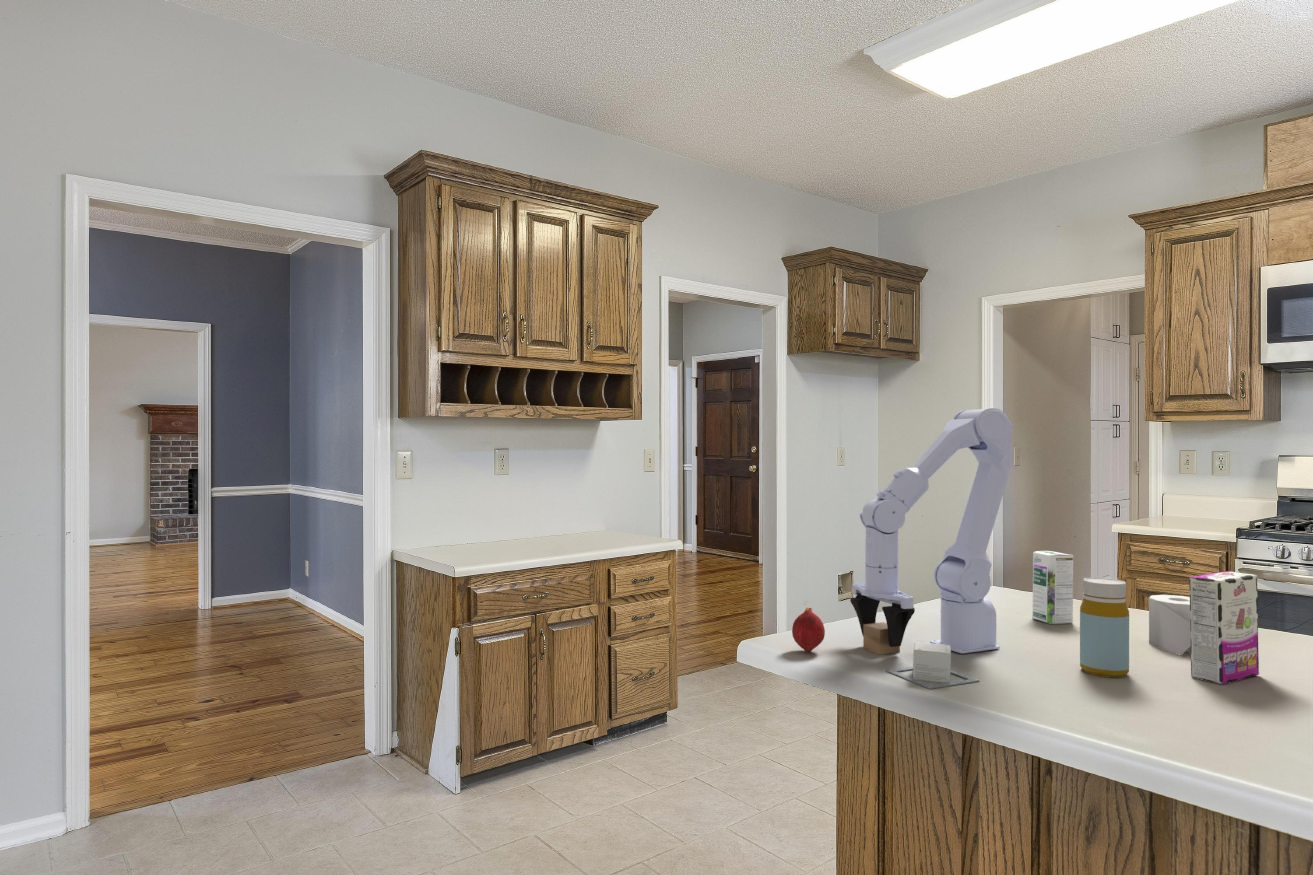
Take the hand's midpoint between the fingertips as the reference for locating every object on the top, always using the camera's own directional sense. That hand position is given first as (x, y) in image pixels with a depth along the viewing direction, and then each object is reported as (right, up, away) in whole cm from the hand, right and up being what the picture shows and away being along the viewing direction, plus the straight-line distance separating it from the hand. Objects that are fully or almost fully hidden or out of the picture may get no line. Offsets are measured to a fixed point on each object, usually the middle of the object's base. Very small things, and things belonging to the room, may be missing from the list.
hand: (881, 640), depth 142 cm
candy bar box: (+51, -2, -15) cm, 53 cm away
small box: (+4, -2, -16) cm, 16 cm away
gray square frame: (+4, -2, -16) cm, 16 cm away
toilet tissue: (+56, -2, +3) cm, 56 cm away
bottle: (+33, -2, -13) cm, 35 cm away
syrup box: (+43, -2, +24) cm, 49 cm away
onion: (-13, -2, -1) cm, 14 cm away
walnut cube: (0, -2, 0) cm, 2 cm away
